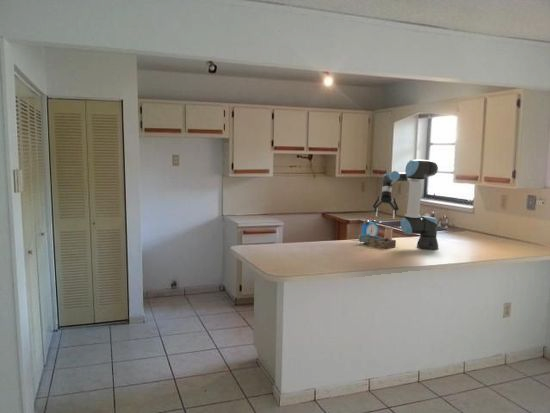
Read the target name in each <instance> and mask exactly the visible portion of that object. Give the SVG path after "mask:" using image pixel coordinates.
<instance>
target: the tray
mask: <svg viewBox="0 0 550 413" xmlns="http://www.w3.org/2000/svg"><path fill="white" fill-rule="evenodd" d="M368 239H371V240H377V241H382V242H385V239H386V238H385V237H384V236H383V237H382V236H378V235H377V236H371V235H370V234H364V235H363V234H359V235H358V242H361V243H366V244H367V243H368Z"/></svg>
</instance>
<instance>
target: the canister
mask: <svg viewBox="0 0 550 413" xmlns="http://www.w3.org/2000/svg"><path fill="white" fill-rule="evenodd" d="M384 228H385V229H384V238H386V239H392V240H393V227H392V226H385V227H384Z"/></svg>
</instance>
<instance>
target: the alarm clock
mask: <svg viewBox="0 0 550 413" xmlns="http://www.w3.org/2000/svg"><path fill="white" fill-rule="evenodd" d="M360 230H361V235H364V234H370V235H371V236H377V237H378V233H379V230H380V229H379V226H378V224H377V220H376V219H371V220H368V219H366V220H364V221H363V224H362V226H361V229H360Z"/></svg>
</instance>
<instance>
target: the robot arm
mask: <svg viewBox="0 0 550 413" xmlns="http://www.w3.org/2000/svg"><path fill="white" fill-rule="evenodd" d="M438 169H439V166H438V164H437V163H436V162H435V161H434V160H430V159H411V160H409V161H408V162H407V163H406V165H405V171H404V172H399V171H398V170H393V171H390V172H389V173H384V174H383V175H382V184H381V185H382V186H381V197H380V196H377V198H376V201H375V203H373V205H372V208H373V209H374V213H375V217H378V212H379V207H380V205H382V204H388V205H389V206H390V207H391V209H392V210H393V212H392V219H393V220H394V219H395V215H397V211H399V206H398V204H397V201H396V198H394V197H393V198H392V190H393V188H392V184H394V183H409V186H408V187H409V188H408V197H407V198H408V199H407V208H406V209H407V210H406V213H405V214H404V217H402V218H401V220H400V229H401V230H402V232H403V233H404V234H405V235H417V234H418V235H419V238H418V241H417V243H416V247H417V248H419V249H423V250H437V249H439V242H438V237H437V236H438V234H437V233H438V224H439V223H438V218H436V217H432V216H427V215H421V214H420V209H421V208H420V207H421V199H422V198H421V197H422V189H423V188H422V187H423V181H425V179H426V177H433V176H435V175H436V174H437V173H438V172H439V170H438ZM379 201H380V202H379ZM378 202H379V203H378Z"/></svg>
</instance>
